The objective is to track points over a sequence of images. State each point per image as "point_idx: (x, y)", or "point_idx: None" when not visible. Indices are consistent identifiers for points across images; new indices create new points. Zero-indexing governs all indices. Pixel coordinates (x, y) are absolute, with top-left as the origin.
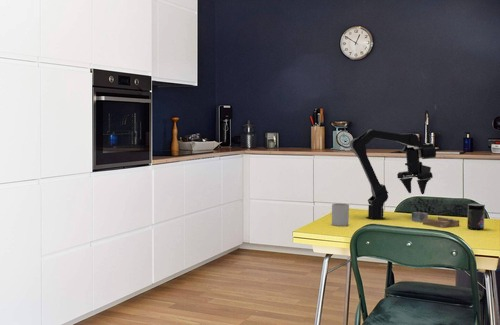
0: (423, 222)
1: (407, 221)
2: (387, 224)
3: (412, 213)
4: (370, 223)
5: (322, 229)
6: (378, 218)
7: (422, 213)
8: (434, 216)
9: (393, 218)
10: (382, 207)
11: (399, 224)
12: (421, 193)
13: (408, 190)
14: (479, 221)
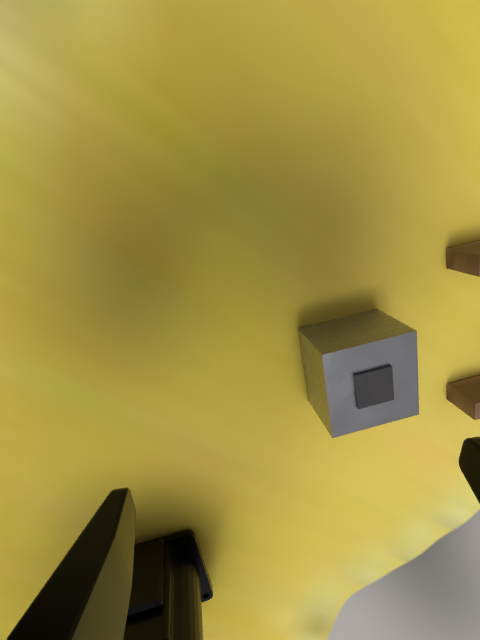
0: (460, 404)
1: (320, 436)
2: (375, 576)
3: (338, 431)
4: (318, 635)
5: None
6: (207, 577)
7: (408, 382)
8: (106, 11)
9: (170, 466)
10: (170, 623)
11: (399, 524)
12: (468, 478)
13: (130, 575)
14: None
